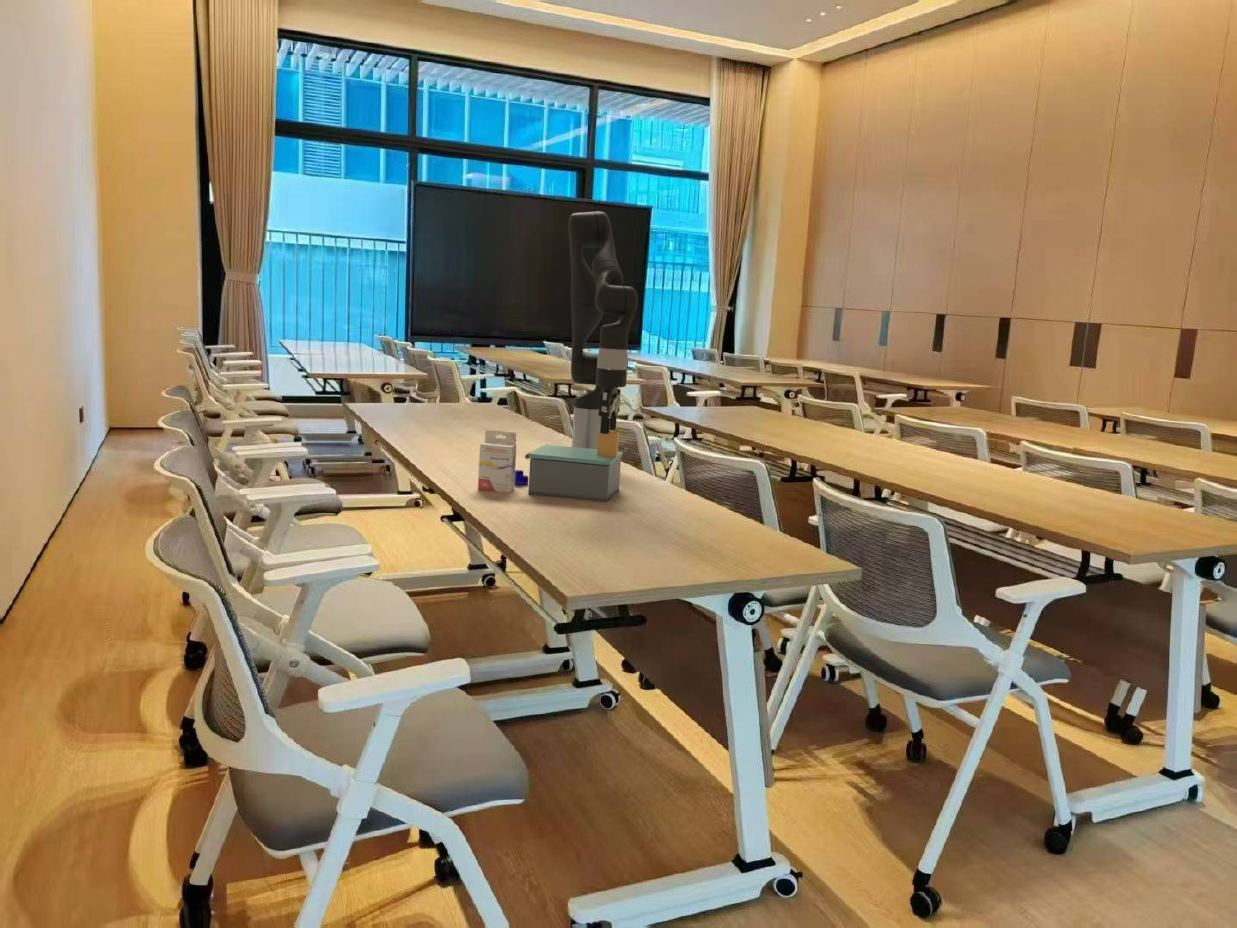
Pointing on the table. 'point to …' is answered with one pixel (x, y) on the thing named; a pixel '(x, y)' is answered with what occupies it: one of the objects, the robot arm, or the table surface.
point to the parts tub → (574, 479)
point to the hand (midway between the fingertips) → (608, 431)
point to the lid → (583, 451)
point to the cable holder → (520, 478)
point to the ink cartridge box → (497, 462)
